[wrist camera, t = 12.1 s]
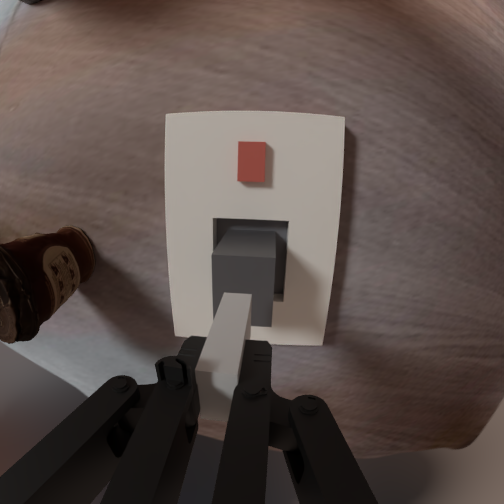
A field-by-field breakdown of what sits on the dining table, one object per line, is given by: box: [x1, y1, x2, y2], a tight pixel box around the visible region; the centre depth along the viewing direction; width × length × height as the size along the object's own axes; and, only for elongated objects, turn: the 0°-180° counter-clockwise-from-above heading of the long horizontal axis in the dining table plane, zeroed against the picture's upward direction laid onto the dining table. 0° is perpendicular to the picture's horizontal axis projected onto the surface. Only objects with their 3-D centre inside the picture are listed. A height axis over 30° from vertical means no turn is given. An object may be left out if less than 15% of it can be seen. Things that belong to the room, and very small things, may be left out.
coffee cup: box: [0, 225, 95, 344], centre depth 21 cm, size 9×8×13 cm
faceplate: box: [165, 111, 345, 346], centre depth 24 cm, size 20×14×3 cm
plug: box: [211, 229, 276, 327], centre depth 22 cm, size 5×4×7 cm
